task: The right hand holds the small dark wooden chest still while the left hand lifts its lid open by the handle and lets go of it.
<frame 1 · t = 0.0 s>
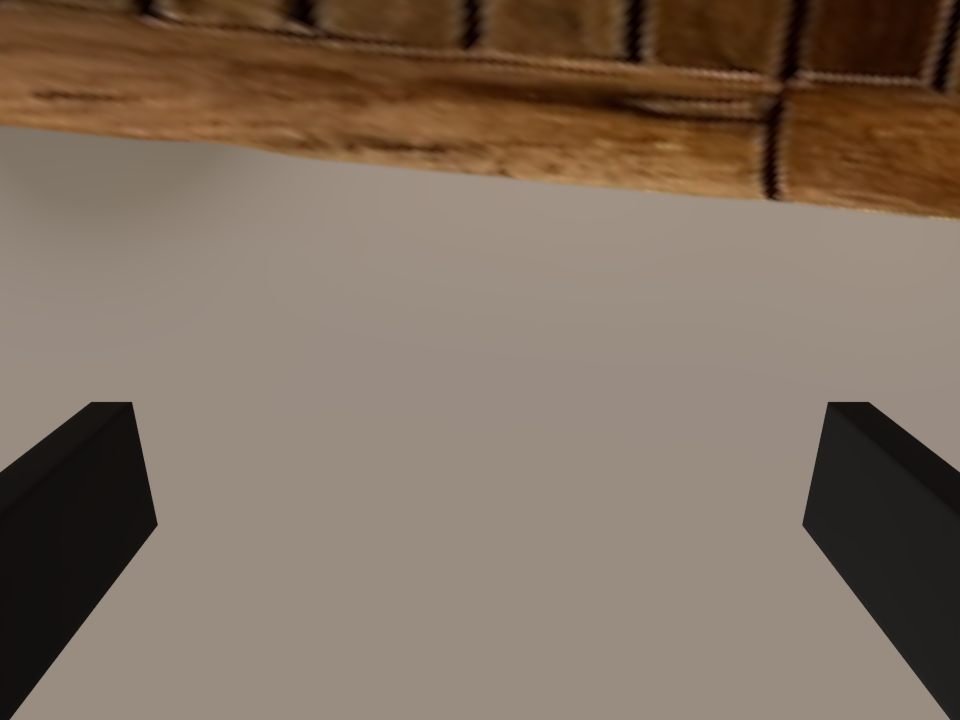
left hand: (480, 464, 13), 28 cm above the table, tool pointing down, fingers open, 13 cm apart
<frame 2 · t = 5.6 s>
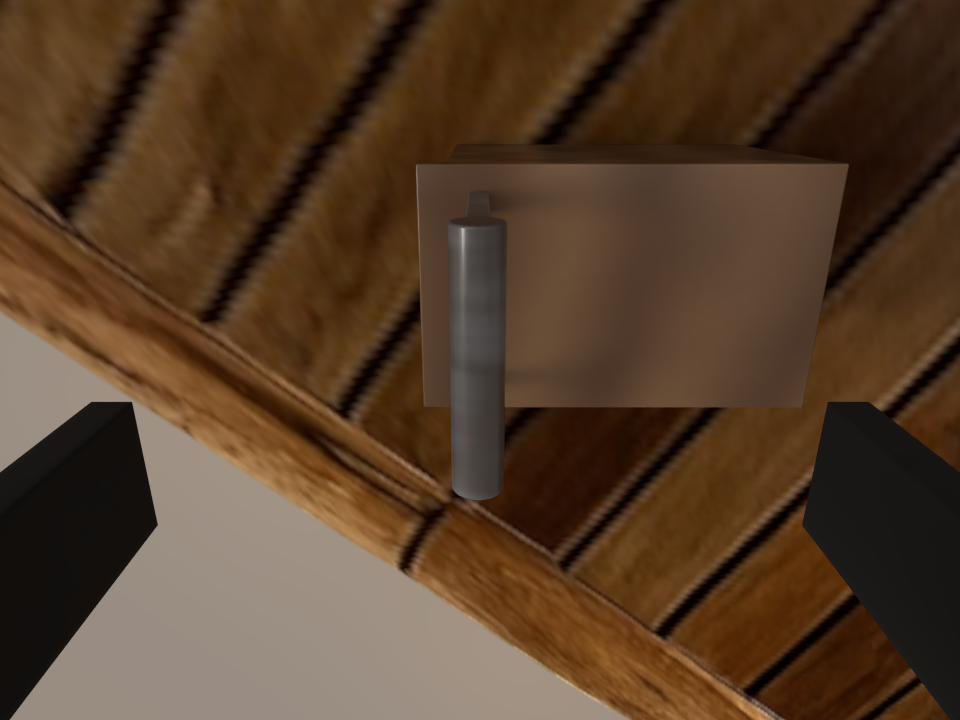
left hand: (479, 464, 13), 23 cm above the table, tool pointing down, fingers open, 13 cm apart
chest: (590, 237, 34), on the table
lid: (643, 322, 21), point 14 cm above the table, hinge at 0.0°
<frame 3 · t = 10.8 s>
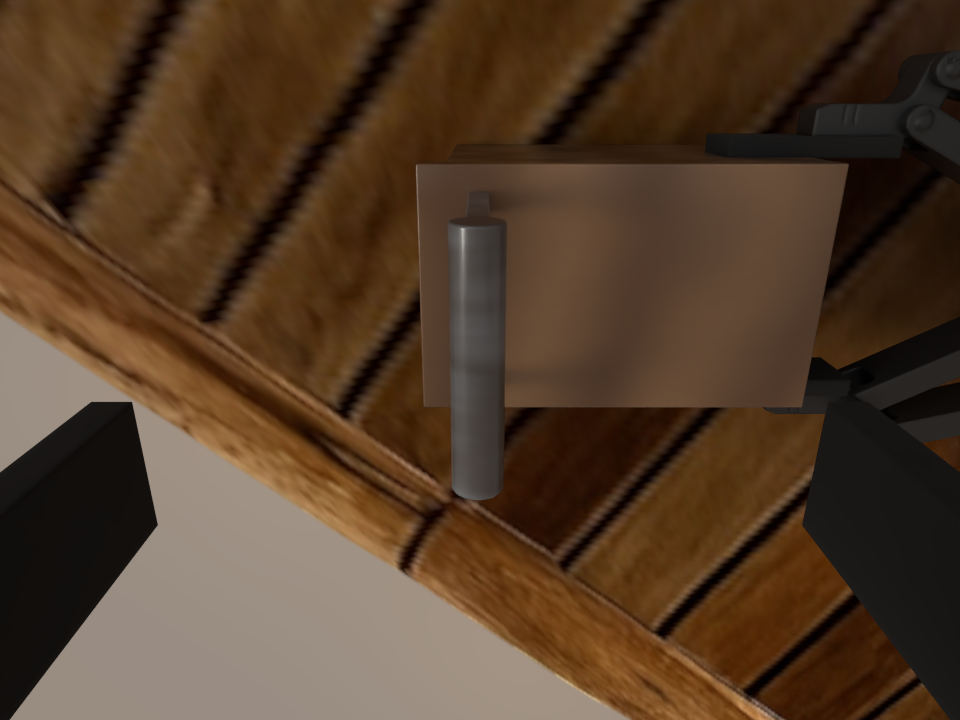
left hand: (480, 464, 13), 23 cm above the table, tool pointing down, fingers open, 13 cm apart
chest: (590, 237, 34), on the table, touching right hand
lid: (643, 322, 21), point 14 cm above the table, hinge at 0.0°
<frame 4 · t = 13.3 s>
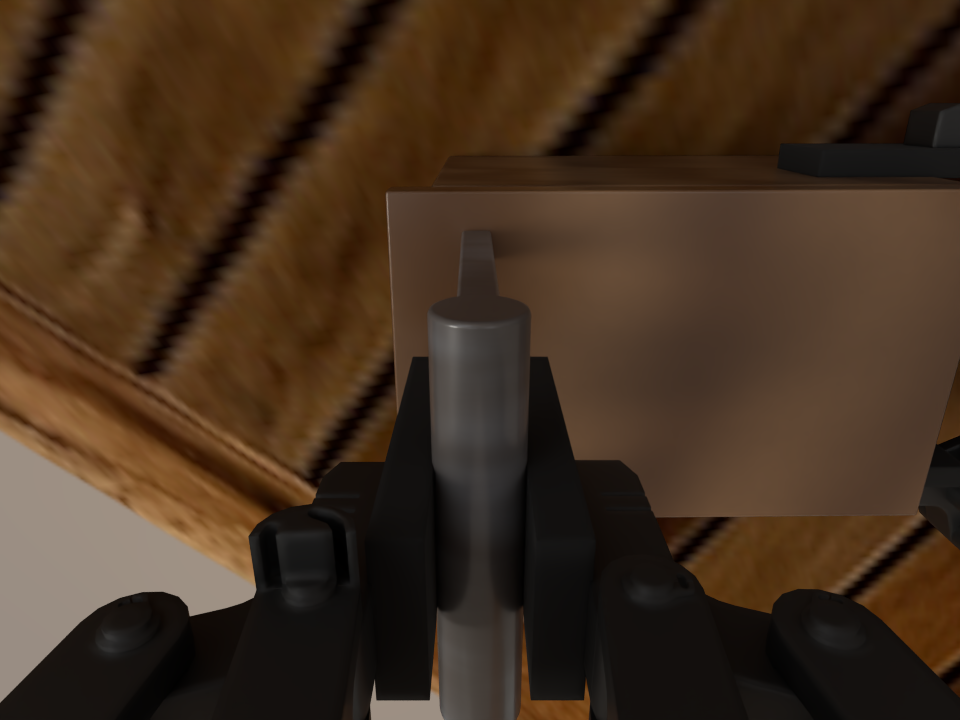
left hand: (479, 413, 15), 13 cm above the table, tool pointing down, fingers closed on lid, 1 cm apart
chest: (617, 271, 27), on the table, touching right hand
lid: (723, 429, 14), point 14 cm above the table, hinge at 0.8°, touching left hand
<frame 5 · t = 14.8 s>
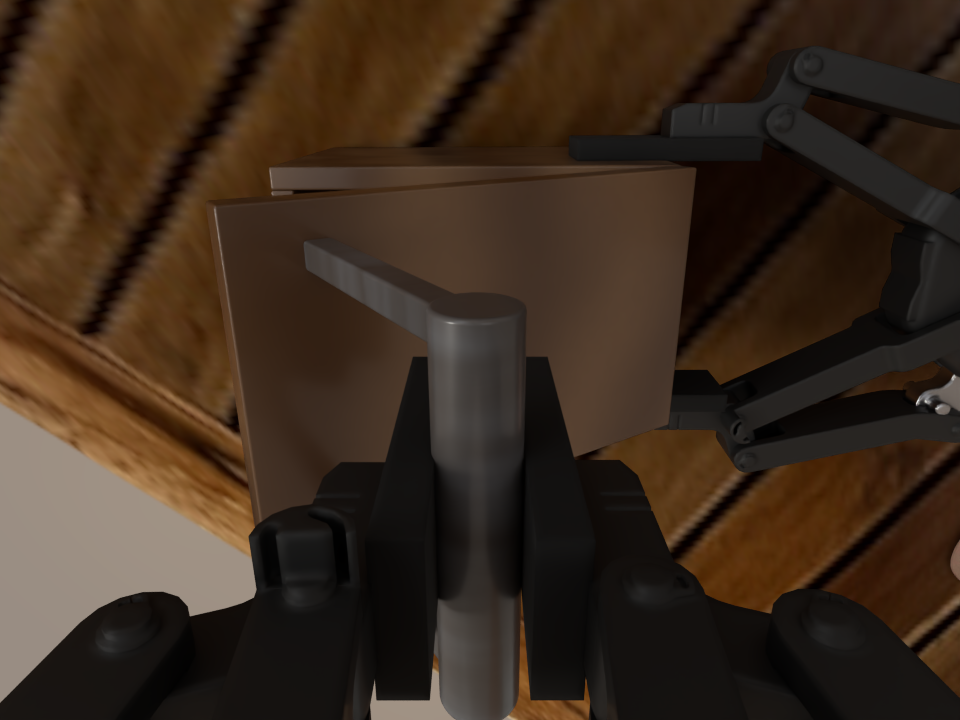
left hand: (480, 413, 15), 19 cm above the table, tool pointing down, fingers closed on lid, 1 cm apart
chest: (478, 244, 33), on the table, touching right hand
lid: (581, 384, 16), point 17 cm above the table, hinge at 32.7°, touching left hand
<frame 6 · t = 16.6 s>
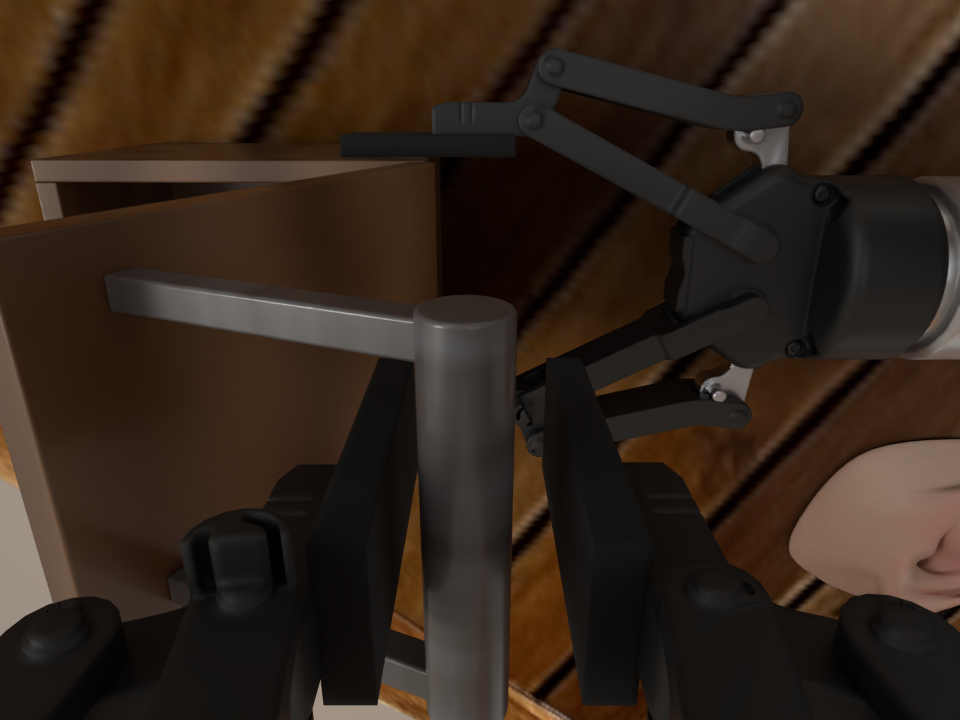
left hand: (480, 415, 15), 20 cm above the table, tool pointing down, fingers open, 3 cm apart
right hand: (355, 268, 28), fingers closed on chest, 9 cm apart
anatomical model: (905, 517, 40), on the table
chest: (306, 237, 34), on the table, touching right hand
lid: (425, 381, 17), point 19 cm above the table, hinge at 66.3°
when the right hand's fingers open (7 cm above the table, at t = 20.2 s): chest stays where it is, on the table.
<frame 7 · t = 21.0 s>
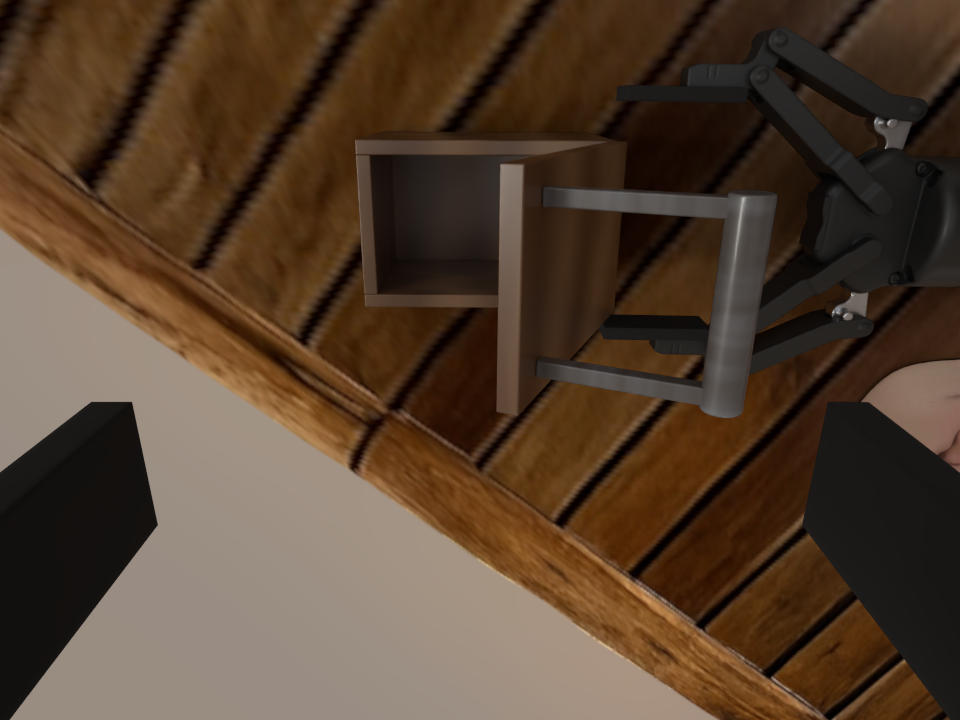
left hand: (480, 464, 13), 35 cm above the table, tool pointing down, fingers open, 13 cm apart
right hand: (609, 217, 39), fingers open, 13 cm apart
anatomical model: (927, 423, 52), on the table
chest: (484, 202, 45), on the table
lid: (658, 265, 28), point 19 cm above the table, hinge at 65.5°
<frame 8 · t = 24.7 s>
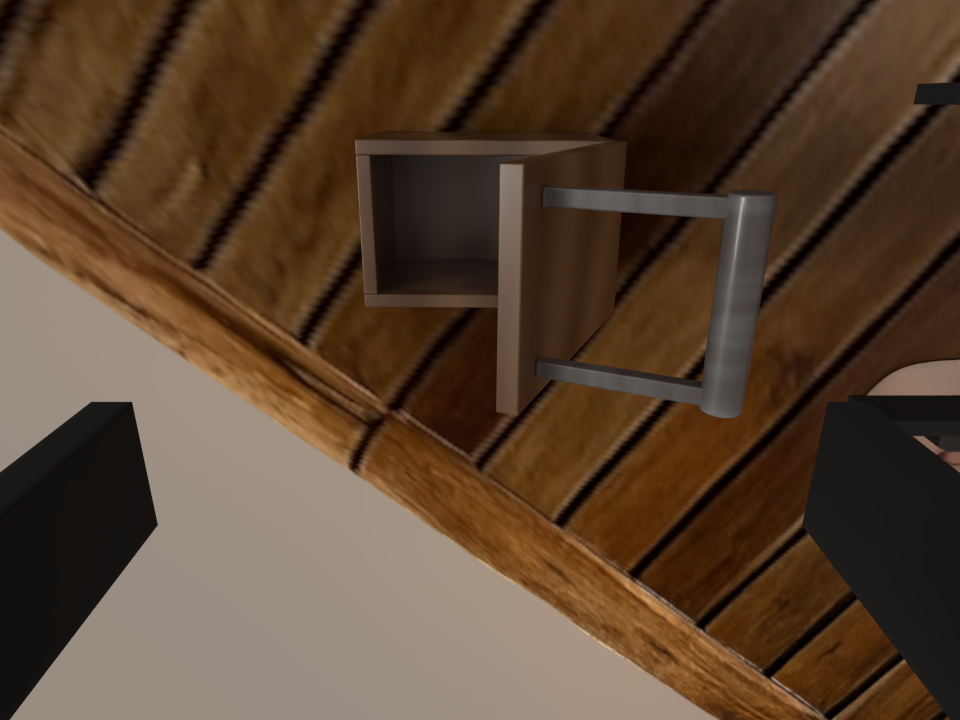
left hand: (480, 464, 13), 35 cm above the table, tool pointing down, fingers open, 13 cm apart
anatomical model: (927, 423, 52), on the table
chest: (484, 202, 45), on the table
lid: (658, 265, 28), point 19 cm above the table, hinge at 65.5°
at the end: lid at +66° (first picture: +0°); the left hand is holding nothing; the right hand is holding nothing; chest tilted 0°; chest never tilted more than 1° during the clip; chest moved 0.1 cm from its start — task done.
